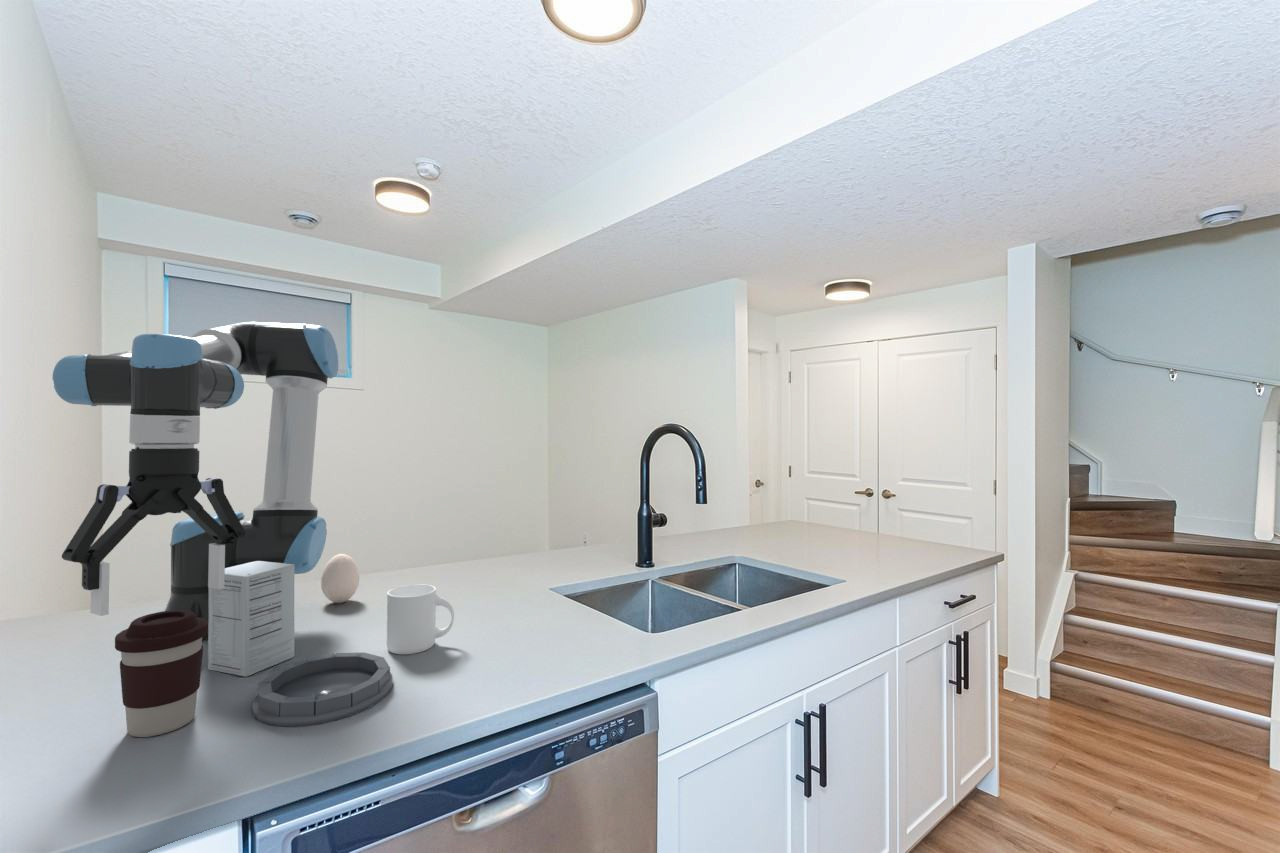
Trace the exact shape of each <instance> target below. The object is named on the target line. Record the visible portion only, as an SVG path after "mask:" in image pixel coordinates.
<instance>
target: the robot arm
mask: <svg viewBox="0 0 1280 853" xmlns="http://www.w3.org/2000/svg"><path fill="white" fill-rule="evenodd" d="M337 350H338V349H337V345H336V343H335V340H334V336H333V335H332V332H331V331H330V330H329V329H328V328H327V327H326V326H323V325H318V324H308V323H306V322H305V323H285V322H283V323H282V322H260V321H245V322H237V323H231V324H225V325H221V326H220V325H219V326H216V327H211V328H206V329H203V330H200V331H198V332H196V333H195V334H193V335H192V336H191V337H189V336H183V335H177V334H176V335H175V334H167V333H165V334H164V333H142V334H138V335H137V336H135V337H134V338H133V340H132V345H131V350H128V351H123V352H115V353H110V354H106V355H105V354H104V355H103V354H102V355H96V354H95V355H94V354H93V355H92V354H91V353H90V354H89V353H85V354H77V355H75V354H73V355H70V354H69V355H67V356H64V357H62V358H61V359H60V360H58V361H57V362H56V363H55V366H54V369H53V372H52V380H53V382H52V383H53V388H54V391H55V392H56V395H58V396H59V398H60V399H61V400H63V401H64V402H66V403H69V404H71V405H82V406H90V407H98V406H114V407H115V406H116V407H117V406H118V407H119V406H121V407H122V406H125V407H126V406H128V407H130V413H129V414H130V416H129V437H128V438H129V439H128V440H129V441H128V442H129V443H130V445H134V448H131V450H129V452H128V455H129V456H128V476H129V479H128V482H127V484H126V486H125V485H124V486H123V485H116V484H115V485H113V484H106V483H104V484H100V485H98V486H97V488H96V496H95V502H94V504H93V505H92V506H91V508H90V510H89V511H88V512H87V514H86V516H85V518H84V519H83V521H82V522H81V524H80V525H79V527H78V529H77V530H76V531H75V533H74V535H73V537H72V538H71V540H70V541H69V543H68V544H67V546H66V548H65V549H64V551H62V554H61V558H62V560H64V561H67V562H72V563H73V562H74V563H79V564H81V568H82V569H81V587H82V589H83V590H86V591H90V614H92V615H97V616H101V617H103V616H107V615H109V614H110V612H109V608H110V605H109V604H110V571H111V570H110V567H111V566H110V562H105V561H103V560H104V559H105V558H107V556H108V555H109V554H110V553H112V551H113V550H114V549H115V548H116V547H117V545H118V544H119V543H120V542H121V541H123V539H124V538H126V537H127V535H128V534H129V532H130V531H132V529H133V528H134V527H136V526H137V524H138V523H139V522H140V521H142V520H143V519H146V518H147V516H148V515H149V516H163V515H164V514H181V513H182V512H183V513H185V514H187V516H189V518H187V519H182V520H180V521H178V522H177V523H175V524H174V526H173V528H172V530H171V539H170V540H171V541H170V543H169V547H170V595H169V596H170V597H169V600H168V602H167V604H166V607H165V608H164V611H170V610H189V611H192V612H194V613H195V615H196V617H198V618H203V619H206V620H207V621H208V625H209V588H213V589H218V590H220V589H224V578H225V568H228V567H233V566H237V565H241V564H245V563H249V562H254V561H266V562H275V563H285V564H294V575H298V574H299V575H300V574H306V573H307V574H308V573H309V572H311V571H312V570H314V568H315V567H316V565H317V564H318V563H319V561H320V559H321V557H322V555H323V551H324V549H325V545H326V539H327V535H328V534H327V533H328V532H327V531H328V530H327V522H326V519H324V517H321V516H318V511H319V509H318V507H317V506H316V505H314V504H313V503H312V500H311V497H312V484H313V472H314V470H313V469H314V458H315V457H314V456H315V446H316V444H315V443H316V432H317V419H318V409H319V408H318V406H319V405H318V404H319V394H320V393H321V392H322V391H324V390H325V389H327V387H328V380H329V379H333V378H335V377H337V375H338V371H339V355H338V351H337ZM242 375H248V376H262V377H263V376H264V377H265V383H266V384H267V385H268V386H269V387H270V388H271V389H272V395H271V396H272V399H271V409H270V418H269V419H270V420H269V429H268V430H269V432H268V441H267V453H266V463H265V474H264V485H263V498H262V501H261V502H260V504H258V505H257V506H256V507H254V508H253V510H252V518H245V515H244V512H243V511H240V510H238V511H237V510H236V511H235V510H234V509H233V507H232V504H231V502H230V501H229V499H228V497H227V496H226V493H225V488H224V481H223V479H222V478H214V477H213V478H212V477H207V478H206V479H203V480H200V479H199V476H198V475H199V472H200V450H199V449H198V448H197V447H196V448H195V445H198V444H199V443H200V436H201V435H200V431H201V430H200V428H201V426H200V425H201V424H200V422H201V408H205V409H214V410H216V409H217V410H218V409H223V408H228V407H230V406H232V405H235V403H237V402H238V401H239V400H240V399H241V397H242V396H243V394H244V390H245V382H244V381H245V380H244V378H243V376H242ZM200 491H202V493H203V494H204V495H206V497H207V499H208V501H209V503H210V504H211V506H212V508H213V510H214V513H211V514H210V513H209V512H208V511H206V510H205V508H204V506H203V505H202V504H201V503H200V502H199V501H198V500H197V498H196V496H197V495H198V494H199V493H200ZM124 496H126V498H128V499H129V500H130V503H129V505H127V506H126V508H124V509H123V511H121V512H122V513H121V515H120V516H119V517H118V518H117V519H116V520H115V521H114V522H113V523H112V524H111V525H109V527H108V528H106V530H105V531H104V532H103V533H102V534H101V535H100V536H99V533H100V532H101V530H102V529H103V527H104V525H105V524H106V522H107V520H108V519H109V517H110V516H111V514H112V513H113V511H114V509H115V507H116V505H117V503H118V502H120V501H121V500H122V499H123V497H124ZM98 536H99V537H98ZM97 537H98V538H97ZM96 538H97V539H96ZM205 640H208V632H207V634H206V635H205V636H203V637H202V641H205Z"/></svg>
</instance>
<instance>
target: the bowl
mask: <svg viewBox="0 0 1280 853" xmlns="http://www.w3.org/2000/svg"><path fill="white" fill-rule="evenodd" d="M390 668H391V667H390V665H389V663H388V661H387V660H386V659H385V657H383V656H379V655H377V654H376V655H375V654H372V653H368V652H336V653H330V654H325V655H324V654H323V655H317V656H314V657H308V658H304V659H300V660H298V661H295V662H293V663H290V664H288V665H285V666H282V667H280V668H277V669H275V670H273V671H272V672H270V674H268V675H267V676H266V677H264V678H263V679H262V680H260V681H259V682H258V683H257V694H256V695H255V696H254V698H253V700H252V707H251V711H252V715H253V717H254V718H255V719H257V721H258V722H261V723H263V724H267V725H270V726H277V727H285V728H286V727H292V728H293V727H307V726H315V725H321V724H326V723H330V722H335V721H338V720H341V719H345V718H348V717H351V716H353V715H356V714H359V713H361V712H363V711H366V710H368V709H370V708H371V707H373V706H375V705H376V704H378V703H379V702H381V701H382V700H384V699H385V698H386V697H387V696H388V694H390V692H391V691H392V689H393V674H392V672H391V669H390Z"/></svg>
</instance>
